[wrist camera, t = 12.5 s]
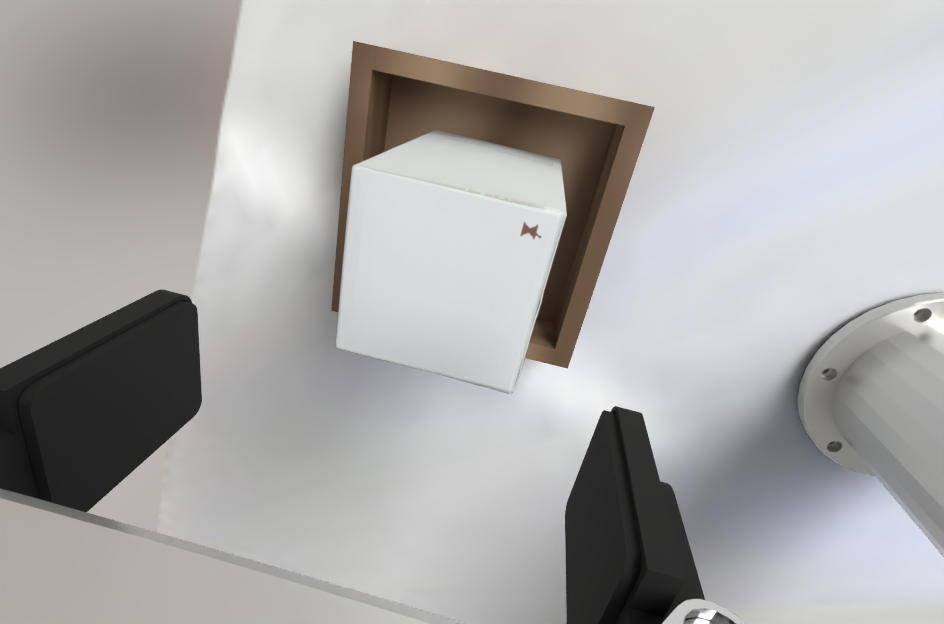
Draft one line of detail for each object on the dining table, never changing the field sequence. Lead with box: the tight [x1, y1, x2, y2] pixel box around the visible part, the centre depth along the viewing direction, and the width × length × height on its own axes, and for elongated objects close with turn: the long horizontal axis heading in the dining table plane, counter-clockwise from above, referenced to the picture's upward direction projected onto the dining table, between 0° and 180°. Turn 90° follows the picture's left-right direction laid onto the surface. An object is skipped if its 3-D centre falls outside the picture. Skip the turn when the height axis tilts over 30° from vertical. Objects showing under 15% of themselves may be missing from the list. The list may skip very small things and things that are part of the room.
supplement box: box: [335, 130, 567, 394], centre depth 23 cm, size 7×7×13 cm
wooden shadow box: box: [332, 41, 655, 368], centre depth 27 cm, size 14×14×4 cm
